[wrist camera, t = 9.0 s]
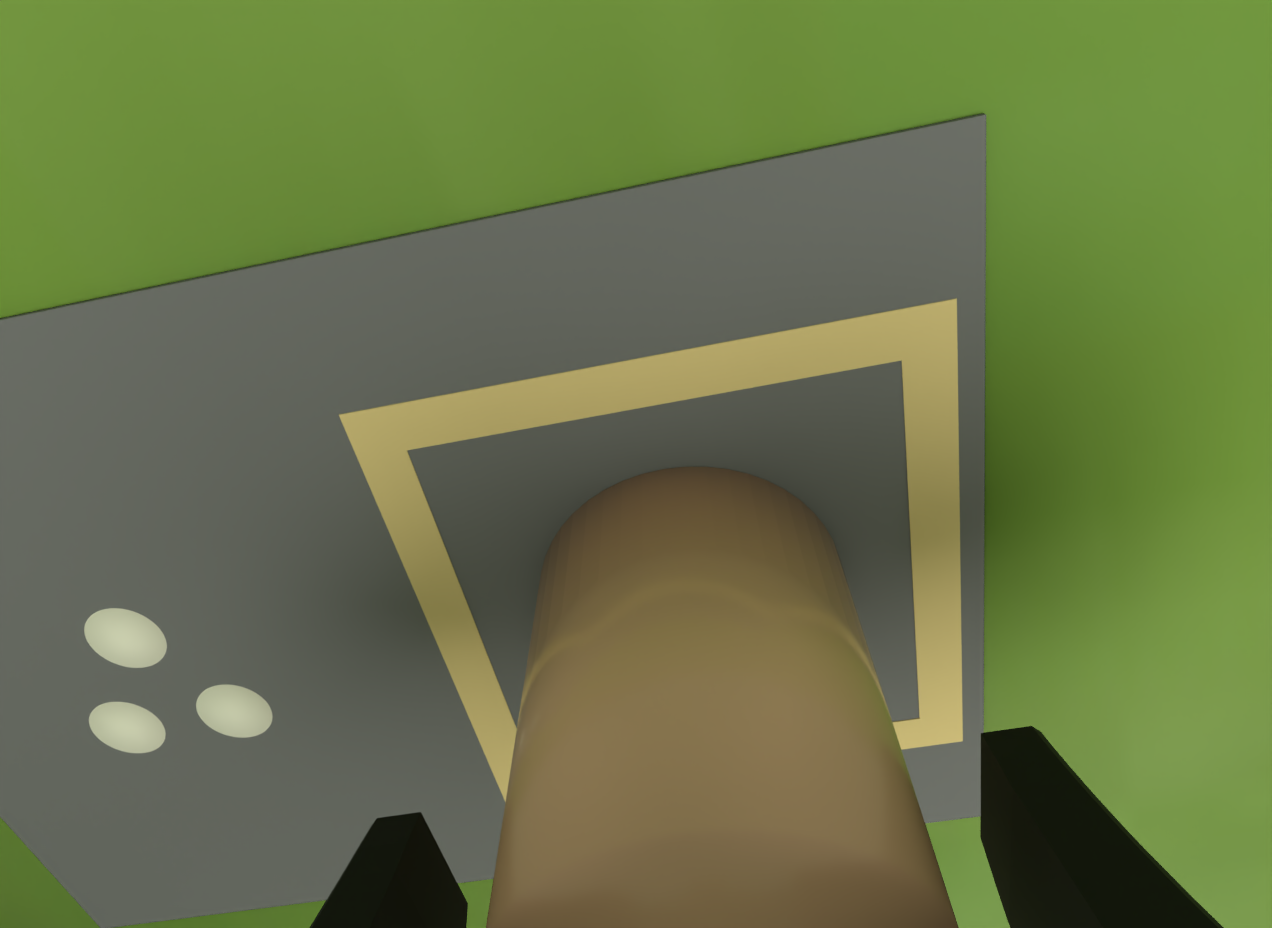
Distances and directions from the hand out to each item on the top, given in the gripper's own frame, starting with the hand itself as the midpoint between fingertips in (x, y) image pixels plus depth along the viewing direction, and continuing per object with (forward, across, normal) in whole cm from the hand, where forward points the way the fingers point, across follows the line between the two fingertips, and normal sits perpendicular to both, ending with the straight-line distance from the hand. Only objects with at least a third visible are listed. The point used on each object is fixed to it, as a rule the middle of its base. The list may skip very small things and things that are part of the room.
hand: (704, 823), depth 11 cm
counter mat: (+5, +5, 0) cm, 7 cm away
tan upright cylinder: (+4, 0, 0) cm, 5 cm away
